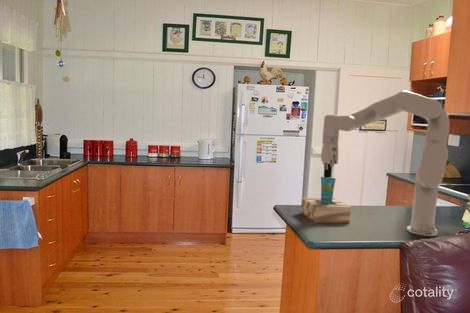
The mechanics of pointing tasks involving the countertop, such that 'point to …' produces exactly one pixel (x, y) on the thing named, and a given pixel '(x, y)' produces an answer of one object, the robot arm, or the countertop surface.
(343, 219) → the socket block
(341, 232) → the countertop surface
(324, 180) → the tube
